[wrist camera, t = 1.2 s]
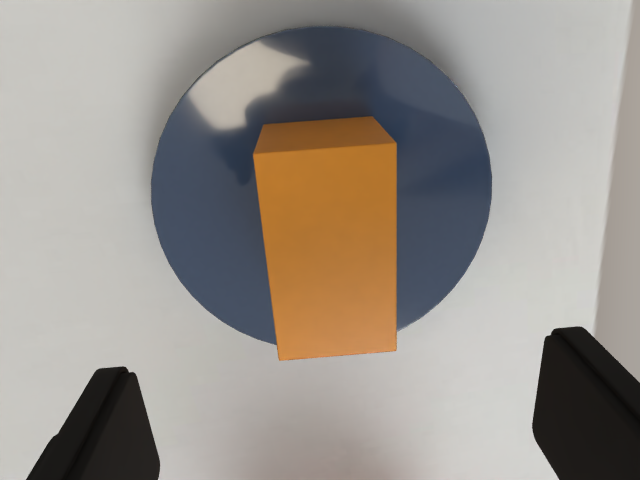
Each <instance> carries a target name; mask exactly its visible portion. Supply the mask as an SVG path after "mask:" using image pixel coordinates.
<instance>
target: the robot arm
mask: <svg viewBox="0 0 640 480" xmlns="http://www.w3.org/2000/svg"><path fill="white" fill-rule="evenodd" d="M532 429H533V434H534V437H535V440H536V442H537V444H538V445H539V447H540V449H541V450H542V452H543V453H544V455H545V457H546V458H547V460H548V462H549V463H550V465H551V467H552V468H553V470H554V472H555V473H556V475H557V477H558V478H559V480H640V383H639V382H638V381H637V380H636V379H635V378H634V377H633V376H632V375H631V374H630V373H629V372H628V371H627V370H626V369H625V368H624V367H623V366H622V365H621V364H620V363H619V362H618V361H617V360H616V359H615V358H614V357H613V356H612V355H611V354H610V353H609V352H608V351H607V350H605V348H604V347H603V346H602V345H601V344H600V343H599V342H598V341H597V340H596V339H595V338H594V337H593V336H592V335H591V334H590V333H589V332H588V331H587V330H586V329H584V328H583V327H567V328H556V329H554V330H553V331H552V333H551V335H550V336H546V338H545V341H544V347H543V354H542V361H541V368H540V374H539V381H538V388H537V395H536V402H535V409H534V416H533V423H532ZM159 472H160V460H159V456H158V452H157V449H156V445H155V441H154V438H153V434H152V430H151V427H150V423H149V419H148V416H147V412H146V408H145V405H144V401H143V397H142V394H141V390H140V386H139V383H138V379H137V376H136V374H135V373H134V372H130V373H129V372H128V369H127V368H126V367H112V368H100V369H98V370H96V371H95V373H94V374H93V376H92V378H91V379H90V381H89V383H88V384H87V386H86V388H85V389H84V391H83V393H82V394H81V396H80V398H79V399H78V401H77V403H76V404H75V406H74V408H73V409H72V411H71V413H70V414H69V416H68V418H67V419H66V421H65V423H64V424H63V426H62V428H61V429H60V431H59V433H58V434H57V435H55V436H54V437H53V438H52V439H51V440H50V442H49V443H48V444H47V446H46V448H45V449H44V451H43V453H42V454H41V456H40V458H39V459H38V461H37V462H36V464H35V466H34V467H33V469H32V471H31V472H30V474H29V476H28V477H27V479H26V480H158V477H159Z"/></svg>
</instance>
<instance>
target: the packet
mask: <svg viewBox="0 0 640 480" xmlns="http://www.w3.org/2000/svg"><path fill="white" fill-rule="evenodd" d="M253 159H254V167H255V175H256V183H257V191H258V199H259V207H260V215H261V223H262V231H263V239H264V247H265V254H266V262H267V270H268V278H269V286H270V294H271V302H272V310H273V318H274V326H275V334H276V342H277V350H278V358H279V360H280V361H282V360H294V359H306V358H318V357H330V356H342V355H354V354H366V353H378V352H390V351H396V349H397V143H396V142H395V141H394V140H393V139H392V137H391V136H390V135H389V134H388V133H387V132H386V131H385V130H384V129H383V127H382V126H381V125H380V124H379V123H378V122H377V121H376V120H375V119H374V117H372V116H369V117H355V118H342V119H329V120H316V121H302V122H289V123H276V124H264V125H263V127H262V130H261V133H260V136H259V139H258V141H257V144H256V147H255V150H254V153H253Z"/></svg>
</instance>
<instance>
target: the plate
mask: <svg viewBox="0 0 640 480" xmlns="http://www.w3.org/2000/svg"><path fill="white" fill-rule="evenodd" d="M369 116H372V117H374V119H375V120H376V121H377V122H378V123H379V124H380V125H381V126H382V127H383V129H384V130H385V131H386V132H387V133H388V134H389V135H390V136H391V137H392V139H393V140H394V141H395V142H396V143H397V331H399V330H401V329H403V328H405V327H407V326H409V325H410V324H412V323H414V322H415V321H417V320H418V319H420V318H421V317H423V316H424V315H425V314H427V313H428V312H429V311H430V310H432V309H433V308H434V307H435V306H436V305H438V304H439V303H440V302H441V301H442V300H443V299H444V298H445V297H446V296H447V295H448V294H449V293H450V292H451V291H452V289H453V288H454V287H455V286H456V284H457V283H458V282H459V280H460V279H461V278H462V276H463V275H464V274H465V272H466V270H467V269H468V267H469V265H470V264H471V262H472V260H473V259H474V257H475V255H476V252H477V250H478V248H479V245H480V243H481V241H482V239H483V235H484V232H485V228H486V225H487V222H488V218H489V211H490V205H491V198H492V174H491V165H490V157H489V153H488V149H487V145H486V141H485V138H484V134H483V132H482V129H481V127H480V125H479V122H478V120H477V118H476V115H475V113H474V112H473V110H472V108H471V107H470V105H469V104H468V102H467V100H466V99H465V97H464V95H463V94H462V93H461V92H460V90H459V89H458V88H457V87H456V86H455V84H454V83H453V82H452V81H451V80H450V78H449V77H448V76H447V75H446V74H444V73H443V72H442V71H441V70H440V69H439V68H438V67H437V66H436V65H434V64H433V63H432V62H431V61H430V60H428V59H427V58H425V57H424V56H422V55H421V54H419V53H418V52H416V51H415V50H413V49H412V48H410V47H408V46H406V45H404V44H402V43H399V42H397V41H395V40H393V39H391V38H389V37H386V36H383V35H379V34H376V33H373V32H369V31H366V30H362V29H355V28H348V27H342V26H308V27H301V28H294V29H287V30H283V31H280V32H276V33H273V34H270V35H266V36H263V37H260V38H258V39H256V40H254V41H251V42H249V43H247V44H245V45H243V46H241V47H238V48H237V49H235V50H234V51H232V52H231V53H229V54H227V55H226V56H224V57H223V58H221V59H220V60H218V61H217V62H216V63H214V64H213V65H212V66H211V67H210V68H209V69H208V70H206V71H205V72H204V73H203V74H202V75H201V76H200V77H198V78H197V80H196V81H195V82H194V83H193V84H192V85H191V87H190V88H189V89H188V90H187V91H186V92H185V94H184V95H183V96H182V97H181V99H180V101H179V102H178V104H177V105H176V107H175V109H174V110H173V112H172V113H171V115H170V117H169V119H168V121H167V123H166V126H165V128H164V130H163V132H162V135H161V137H160V140H159V143H158V147H157V150H156V154H155V158H154V163H153V171H152V178H151V205H152V211H153V217H154V224H155V228H156V231H157V234H158V238H159V241H160V244H161V247H162V249H163V251H164V253H165V255H166V258H167V260H168V262H169V264H170V266H171V267H172V269H173V271H174V272H175V274H176V275H177V277H178V279H179V280H180V282H181V283H182V284H183V285H184V286H185V288H186V289H187V290H188V291H189V293H190V294H191V295H192V296H193V297H194V298H195V299H196V300H197V301H198V302H199V303H200V304H201V305H202V306H203V307H204V308H205V309H206V310H207V311H209V312H210V313H212V314H213V315H214V316H216V317H217V318H218V319H220V320H221V321H222V322H224V323H226V324H227V325H229V326H231V327H232V328H234V329H236V330H238V331H239V332H242V333H244V334H246V335H249V336H251V337H253V338H256V339H258V340H261V341H265V342H268V343H271V344H274V345H277V342H276V334H275V326H274V318H273V310H272V302H271V294H270V286H269V278H268V270H267V262H266V254H265V247H264V239H263V231H262V223H261V215H260V207H259V199H258V191H257V183H256V175H255V167H254V159H253V153H254V150H255V147H256V144H257V141H258V139H259V136H260V133H261V130H262V127H263V125H264V124H276V123H289V122H302V121H316V120H329V119H342V118H355V117H369Z"/></svg>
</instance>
